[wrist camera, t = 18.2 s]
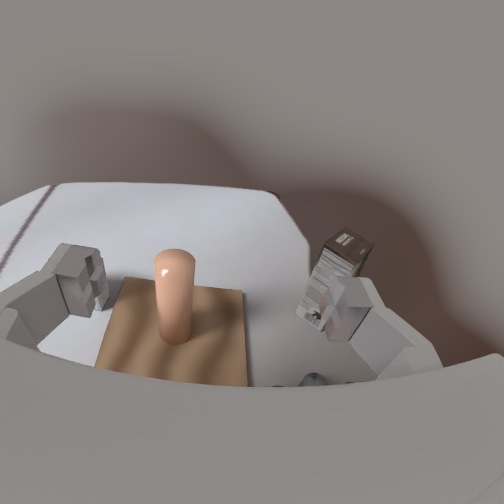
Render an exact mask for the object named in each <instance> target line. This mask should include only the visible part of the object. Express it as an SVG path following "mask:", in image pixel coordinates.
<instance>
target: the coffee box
mask: <svg viewBox="0 0 504 504" xmlns="http://www.w3.org/2000/svg"><path fill="white" fill-rule="evenodd" d="M373 246H374V244H373V243H371V242H369V241H367V240H366V239H364V238H363V237H362V236H360V235H359V234H357V233H355V232H353V231H352V230H350V229H348V228H346V227H344V228H343V229H342V230H341V231H340V232H338V233H337V234H335V235H334V236H333V237H331V238H330V239H329V240H328V241H326V242H325V243H324V244H323V247H322V250H321V253H320V255H319V257H318V260H317V262H316V265H315V267H314V270H313V272H312V275H311V277H310V279H309V282H308V284H307V287H306V289H305V291H304V293H303V296H302V298H301V300H300V303H299V305H298V307H297V310H296V312H295V314H296V315H297V316H299V317H300V318H302V319H303V320H304V321H306V322H307V323H309V324H310V325H311V326H313V327H314V328H316V329H317V330H318V331H320V332H321V331H322V330H323V329H324V326H325V324H326V321H325V320H323V319H322V318H321V315H320V310H319V305H320V299H321V297H322V294H323V293H324V292H325V291H326V290H328V289H329V287H328V281H329V279H330V278H331V277H332V276H345V277H358V276H359V274H360V272H361V271H362V269H363V267H364V265H365V263H366V261H367V259H368V256H369V254H370V252H371V250H372V248H373Z"/></svg>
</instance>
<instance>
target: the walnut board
mask: <svg viewBox="0 0 504 504" xmlns="http://www.w3.org/2000/svg"><path fill="white" fill-rule="evenodd" d="M95 367H96V368H101V369H105V370H110V371H115V372H120V373H125V374H130V375H136V376H141V377H147V378H154V379H161V380H168V381H176V382H185V383H194V384H205V385H218V386H236V387H248V380H247V365H246V349H245V333H244V316H243V298H242V290H232V289H222V288H213V287H204V286H195V285H194V288H193V304H192V322H191V336H190V338H189V339H188V340H187V341H186V342H185V343H183V344H179V345H172V344H169V343H166V342H165V341H164V340H163V339H162V338H161V337H160V334H159V325H158V313H157V300H156V285H155V281H154V280H146V279H139V278H132V277H125V279H124V282H123V284H122V287H121V290H120V292H119V295H118V297H117V300H116V303H115V306H114V308H113V311H112V314H111V317H110V320H109V322H108V325H107V328H106V331H105V334H104V337H103V341H102V344H101V347H100V350H99V353H98V357H97V360H96V363H95Z"/></svg>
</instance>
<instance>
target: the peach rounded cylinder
mask: <svg viewBox="0 0 504 504" xmlns="http://www.w3.org/2000/svg"><path fill="white" fill-rule="evenodd" d="M154 263H155V285H156V300H157V313H158V325H159V334H160V337H161V338H162V339H163V340H164V341H165V342H166V343H169V344H172V345H179V344H183V343H185V342H186V341H187V340H188V339H189V338H190V336H191V322H192V304H193V288H194V274H195V259H194V257H193V256H192V255H191V254H190V253H188V252H187V251H184V250H180V249H168V250H165V251H162V252H160V253H159V254H158V255H157V256H156V258H155V261H154Z"/></svg>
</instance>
